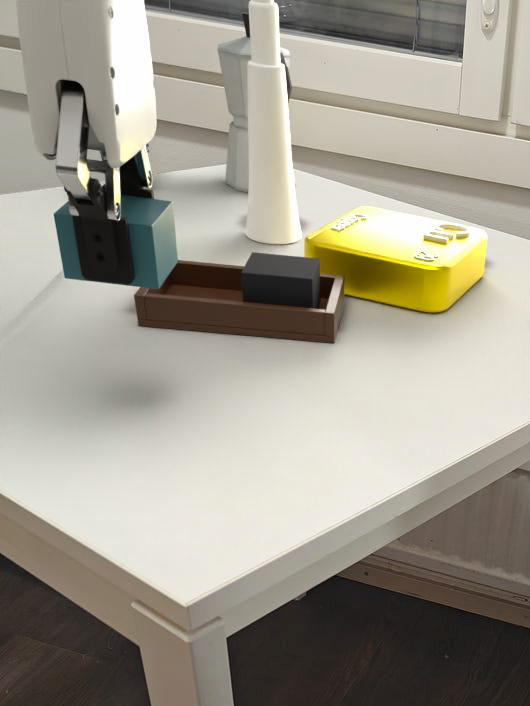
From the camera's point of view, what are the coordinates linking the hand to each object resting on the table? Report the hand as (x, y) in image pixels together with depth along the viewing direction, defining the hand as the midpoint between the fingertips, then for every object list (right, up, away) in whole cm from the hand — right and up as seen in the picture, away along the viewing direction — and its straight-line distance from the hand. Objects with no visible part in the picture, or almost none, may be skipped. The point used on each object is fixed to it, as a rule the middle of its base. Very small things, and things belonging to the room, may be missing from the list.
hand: (122, 261), depth 60 cm
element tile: (+16, +11, +31) cm, 37 cm away
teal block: (0, 0, 0) cm, 0 cm away
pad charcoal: (+6, +4, +20) cm, 21 cm away
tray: (+3, +4, +20) cm, 21 cm away
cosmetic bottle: (+2, +19, +38) cm, 42 cm away
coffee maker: (-3, +31, +52) cm, 61 cm away
